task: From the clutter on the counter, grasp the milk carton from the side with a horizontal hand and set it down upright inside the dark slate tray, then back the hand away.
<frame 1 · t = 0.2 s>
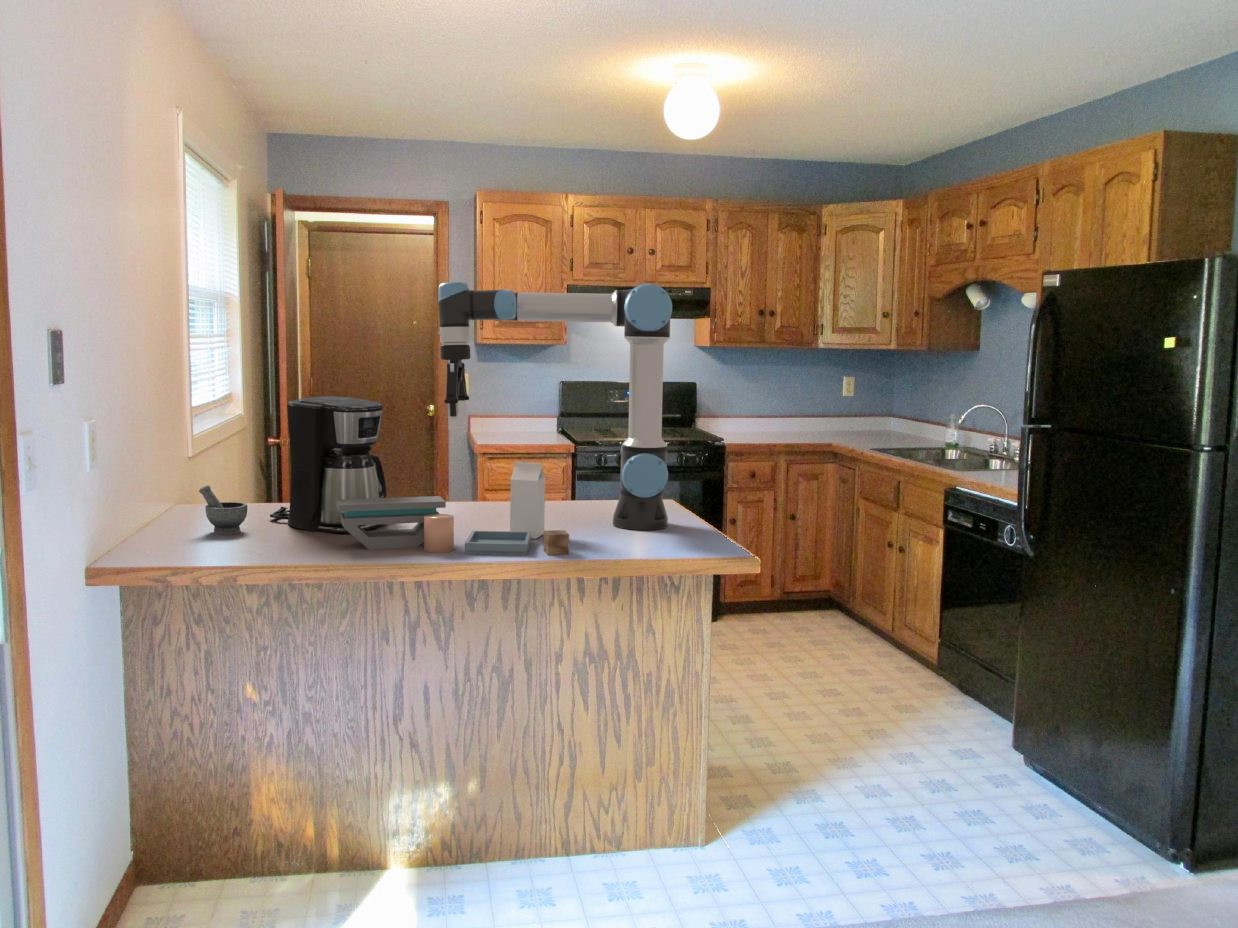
hand: (458, 427, 254), 27 cm above the countertop, tool pointing down, fingers open, 13 cm apart
walnut block: (556, 552, 236), on the countertop
mortar and pestle: (224, 532, 249), on the countertop
milk carton: (527, 536, 254), on the countertop
peach round cylinder: (438, 549, 236), on the countertop
coffee maker: (335, 523, 264), on the countertop
tray: (498, 547, 239), on the countertop
sharpening stone: (391, 545, 240), on the countertop
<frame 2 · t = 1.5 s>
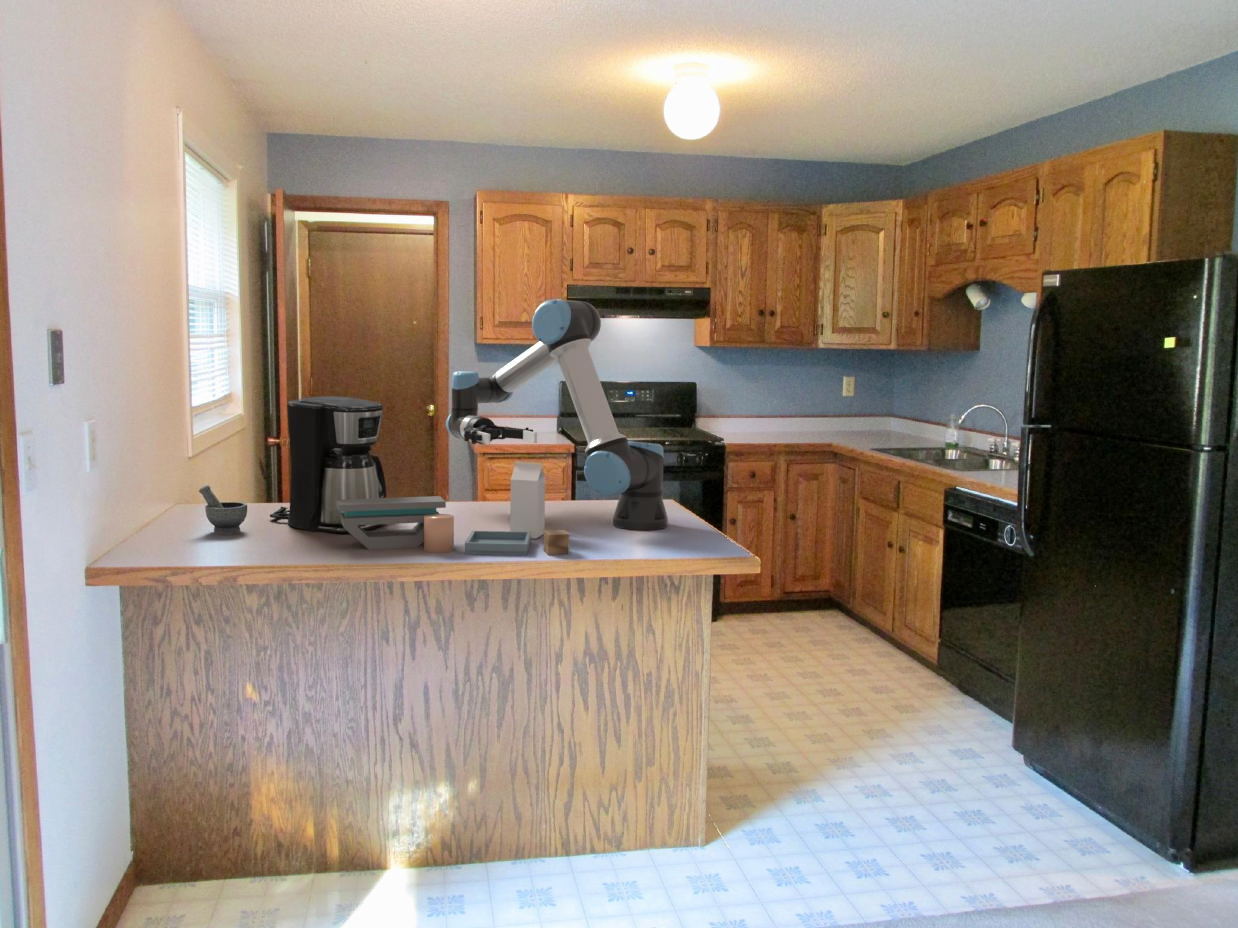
hand: (512, 438, 259), 24 cm above the countertop, tool horizontal, fingers open, 13 cm apart
nothing on the countertop moved.
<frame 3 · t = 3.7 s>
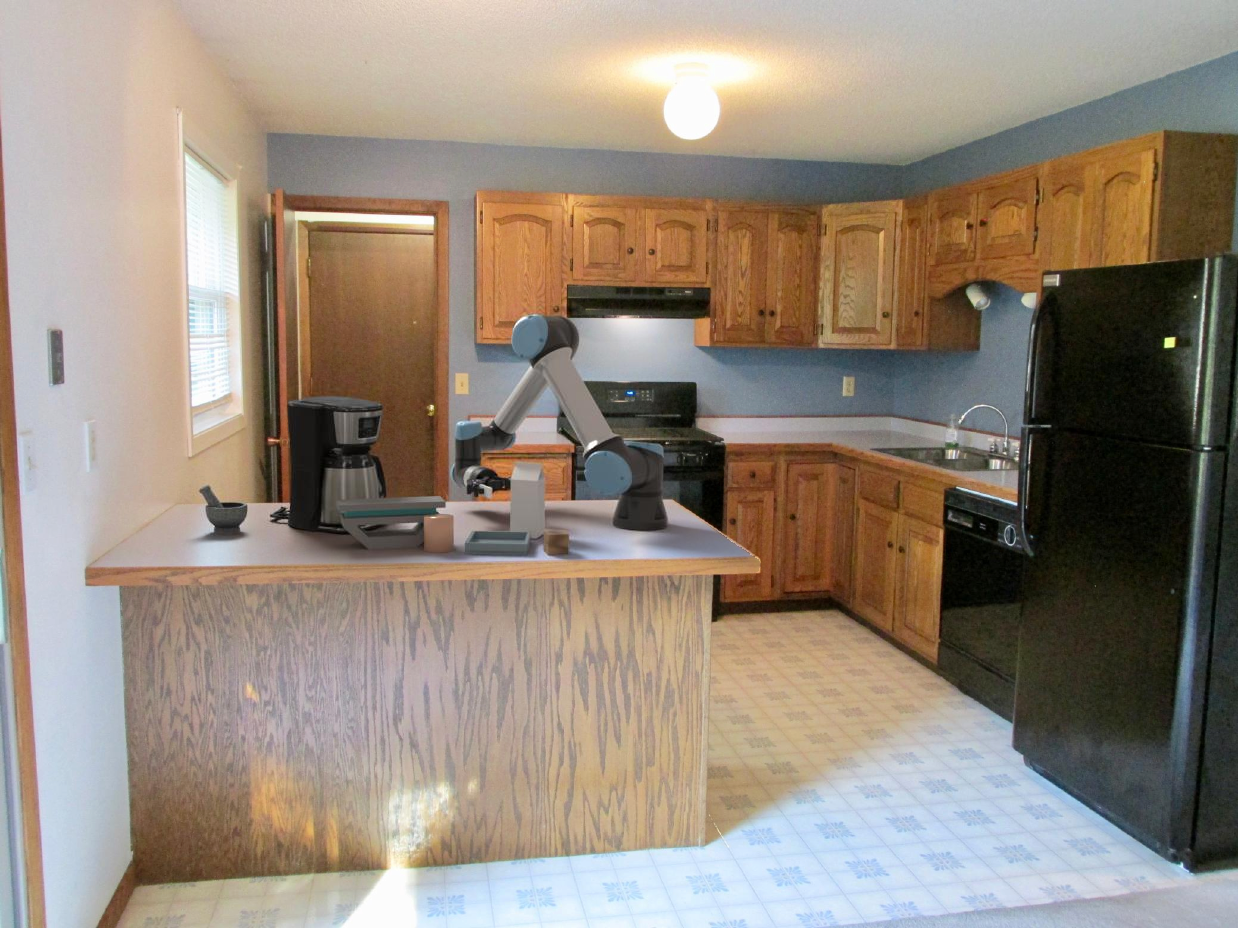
hand: (514, 491, 259), 10 cm above the countertop, tool horizontal, fingers open, 13 cm apart
nothing on the countertop moved.
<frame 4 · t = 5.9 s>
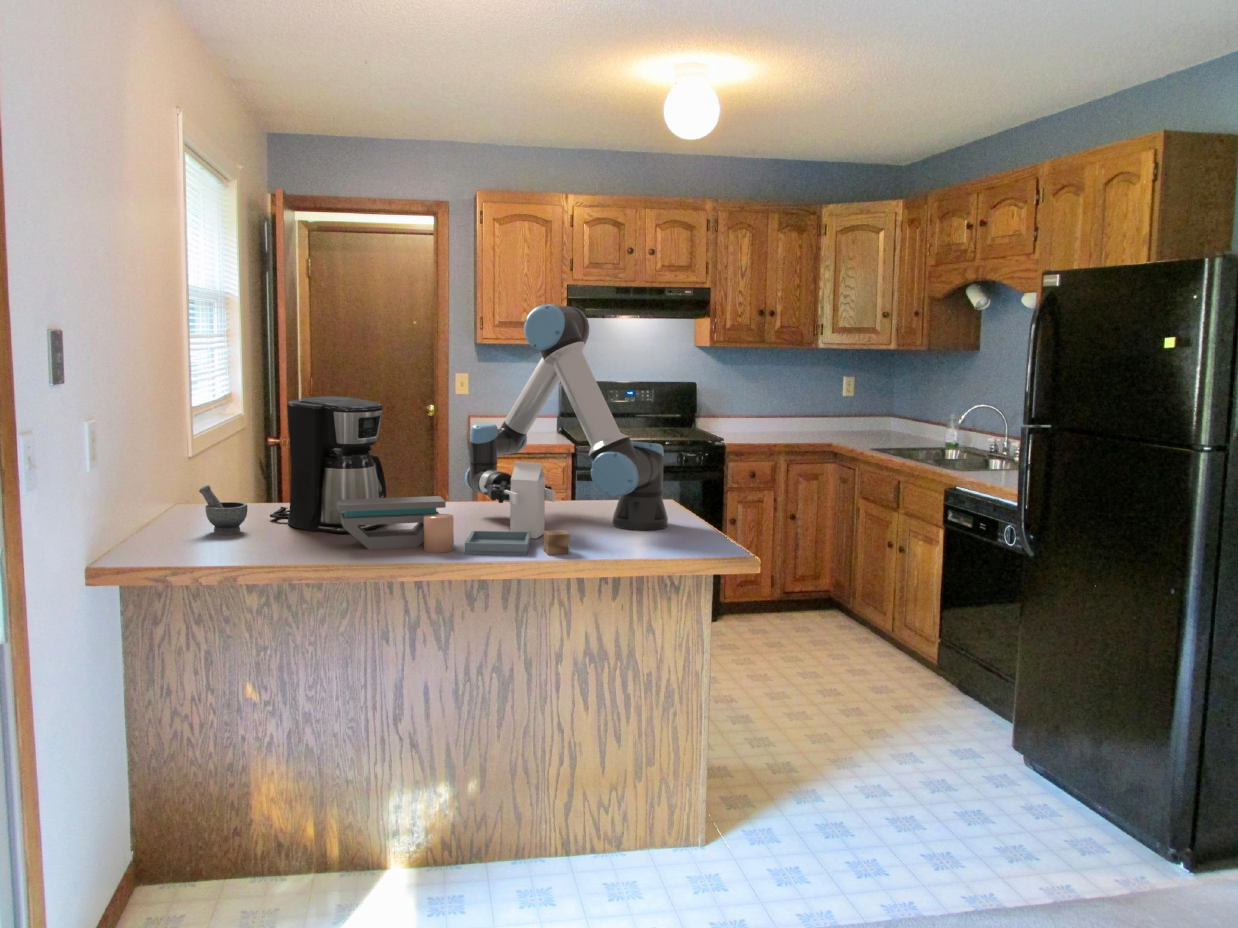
hand: (535, 497, 249), 11 cm above the countertop, tool horizontal, fingers closed on milk carton, 10 cm apart
milk carton: (527, 536, 254), on the countertop, touching gripper
everything else where it was.
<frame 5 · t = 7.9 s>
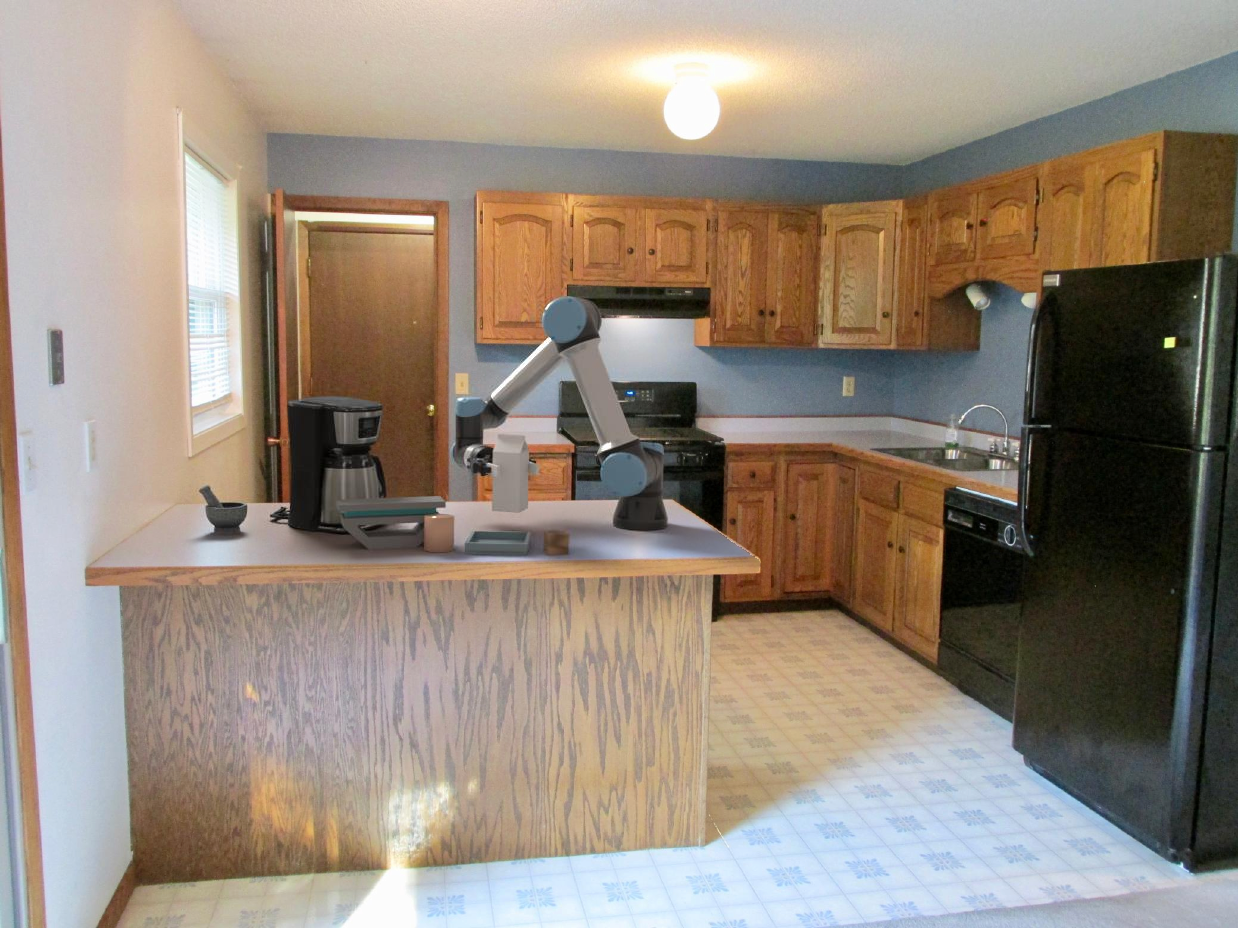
hand: (518, 470, 242), 18 cm above the countertop, tool horizontal, fingers closed on milk carton, 10 cm apart
milk carton: (510, 510, 247), point 7 cm above the countertop, touching gripper
everything else where it was.
when the fingers open (12 cm above the countertop, at t = 10.2 s): milk carton stays where it is, resting on tray.
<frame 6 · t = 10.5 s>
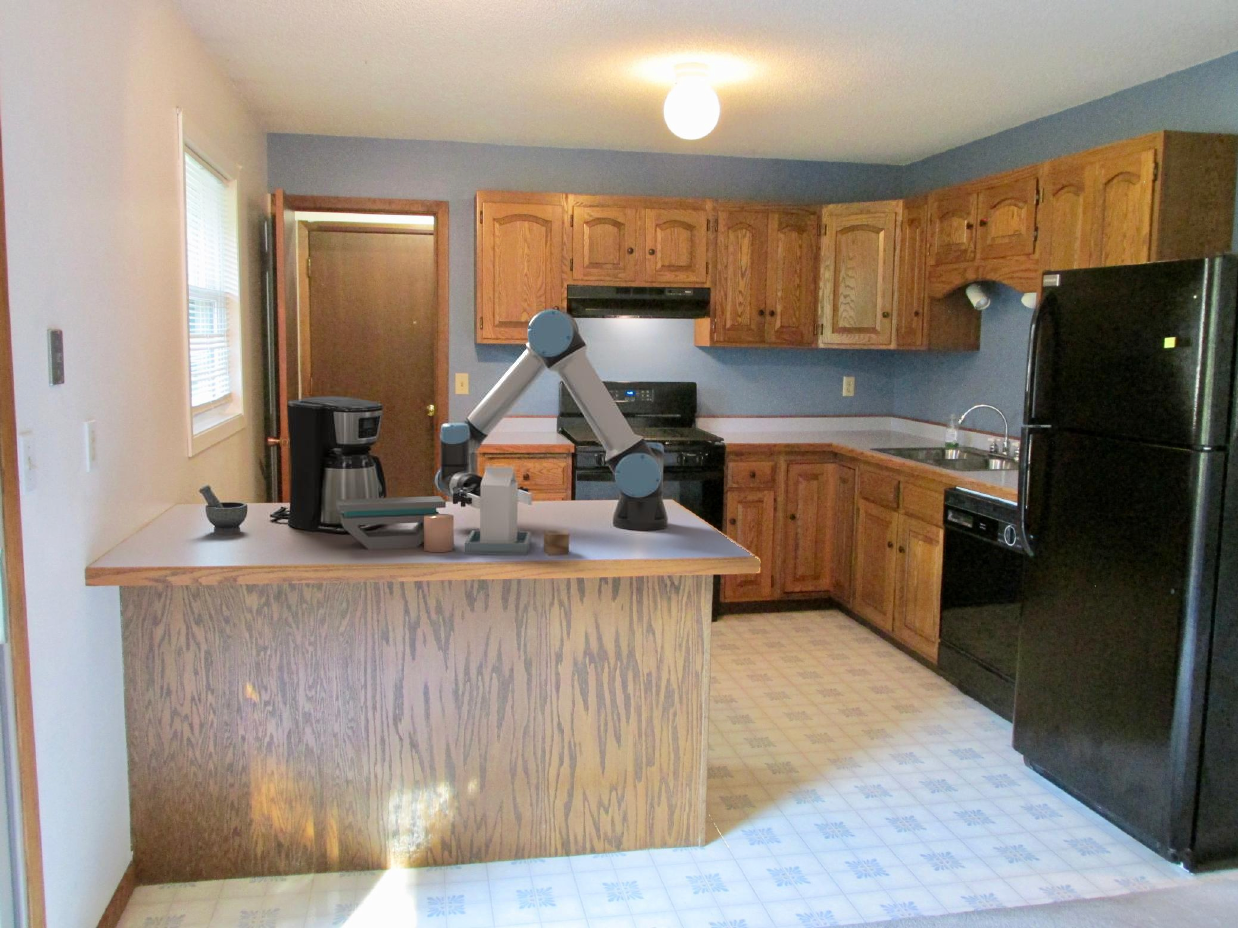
hand: (505, 501, 235), 12 cm above the countertop, tool horizontal, fingers open, 13 cm apart
milk carton: (498, 545, 239), point 1 cm above the countertop, touching tray
everything else where it was.
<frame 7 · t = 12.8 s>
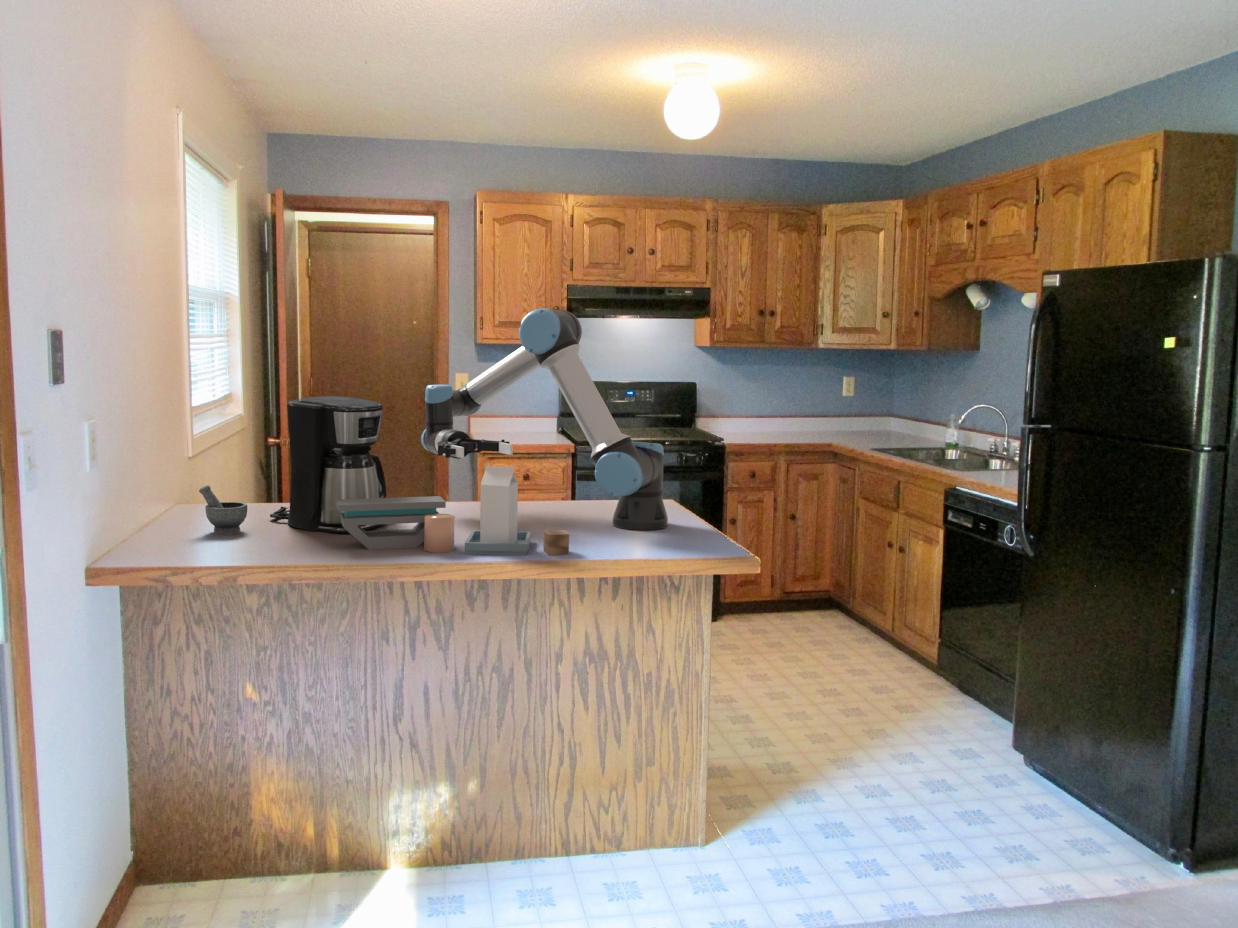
hand: (487, 451, 251), 22 cm above the countertop, tool horizontal, fingers open, 13 cm apart
nothing on the countertop moved.
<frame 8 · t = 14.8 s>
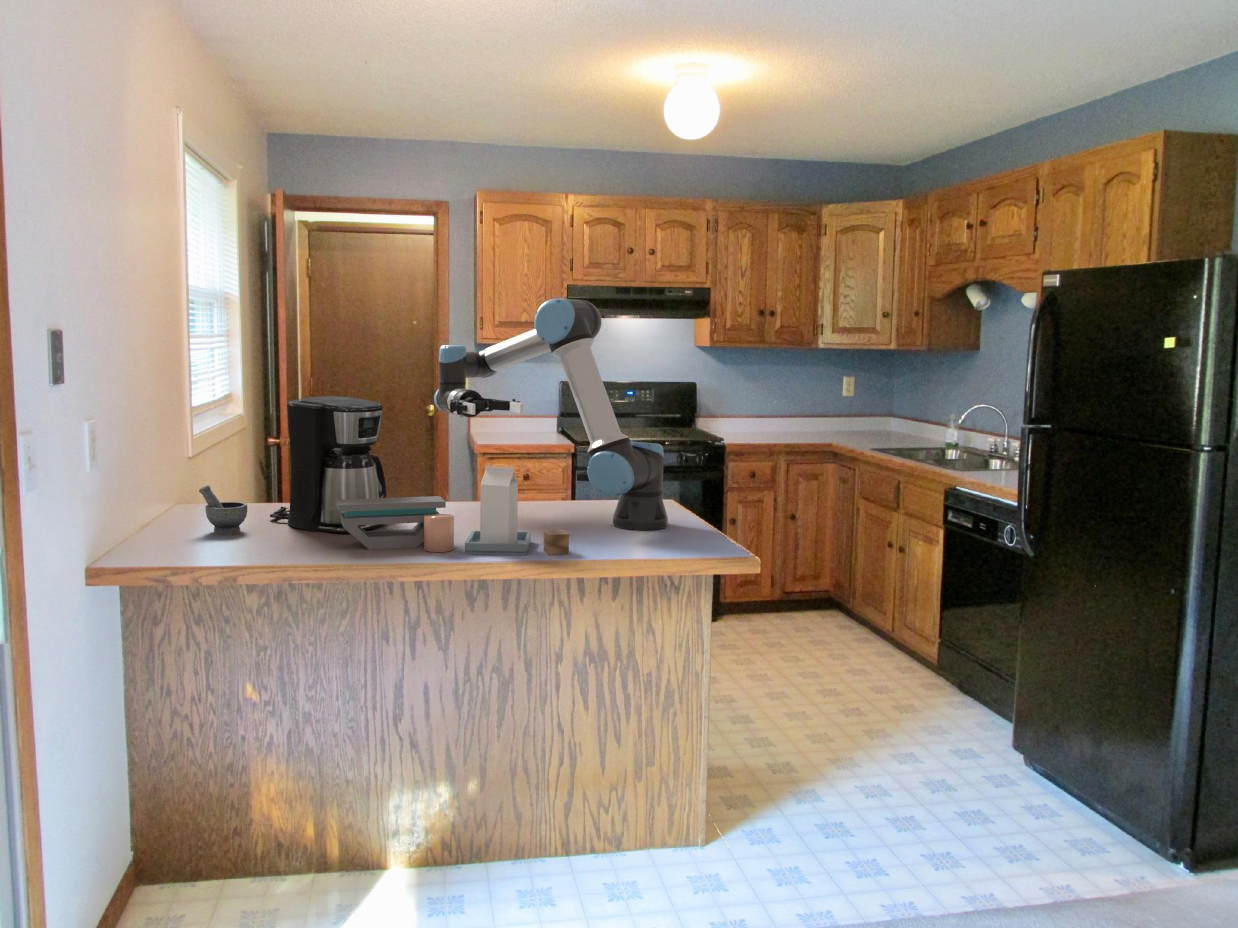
hand: (498, 408, 256), 32 cm above the countertop, tool horizontal, fingers open, 13 cm apart
nothing on the countertop moved.
at the end: milk carton inside the target area on the tray (0.1 cm from its centre), point 0.6 cm above the tray's base; milk carton tilted 0°; the gripper is holding nothing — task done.
